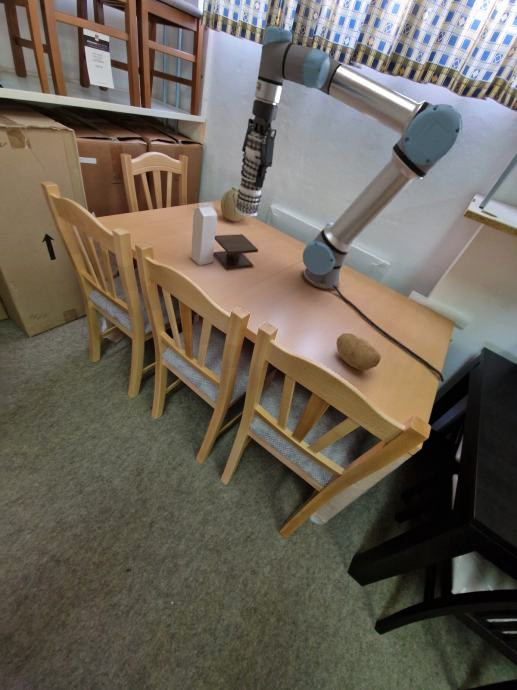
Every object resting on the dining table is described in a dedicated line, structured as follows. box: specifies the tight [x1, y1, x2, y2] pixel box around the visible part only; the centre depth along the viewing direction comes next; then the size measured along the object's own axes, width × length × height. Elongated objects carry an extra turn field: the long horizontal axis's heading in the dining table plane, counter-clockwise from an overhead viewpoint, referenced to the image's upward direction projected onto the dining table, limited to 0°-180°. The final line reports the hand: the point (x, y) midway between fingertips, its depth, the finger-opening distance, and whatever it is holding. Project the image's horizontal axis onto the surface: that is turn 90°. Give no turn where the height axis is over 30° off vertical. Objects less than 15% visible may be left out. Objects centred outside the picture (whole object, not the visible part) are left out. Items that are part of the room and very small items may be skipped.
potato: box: [336, 332, 382, 372], centre depth 89 cm, size 10×14×8 cm
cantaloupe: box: [220, 186, 248, 223], centre depth 146 cm, size 15×15×15 cm
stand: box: [213, 233, 259, 271], centre depth 118 cm, size 13×13×8 cm
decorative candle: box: [235, 131, 269, 217], centre depth 103 cm, size 9×9×25 cm
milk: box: [190, 201, 218, 266], centre depth 108 cm, size 6×6×22 cm
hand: (251, 182), depth 104 cm, fingers closed on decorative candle, 9 cm apart
